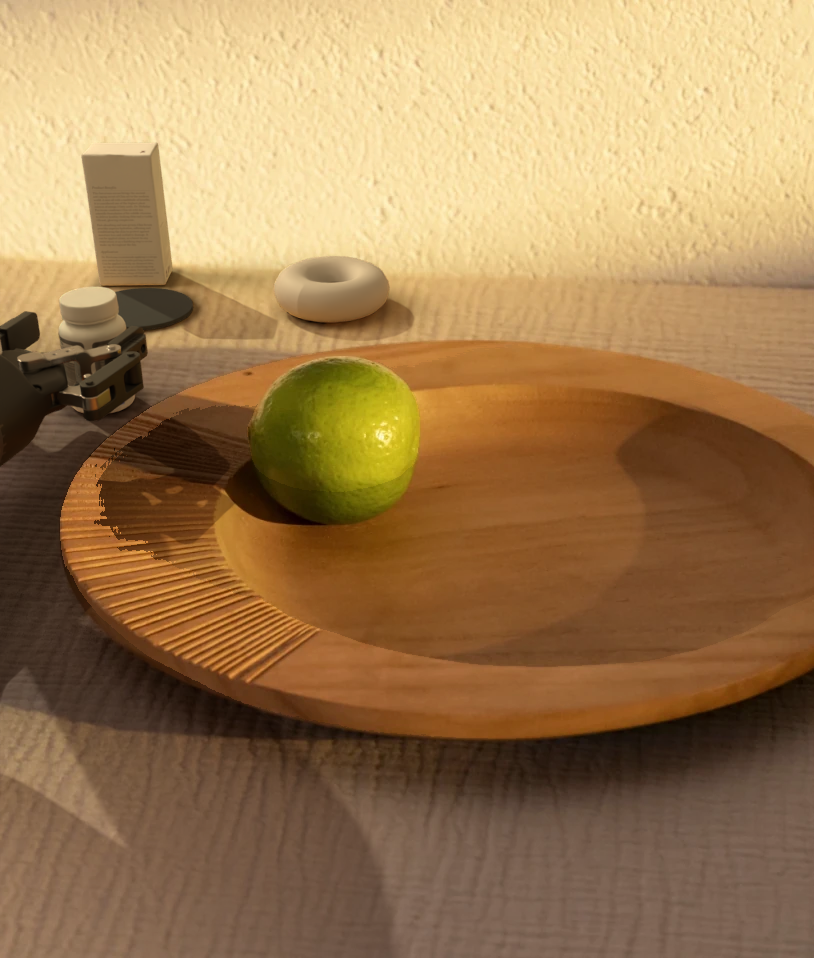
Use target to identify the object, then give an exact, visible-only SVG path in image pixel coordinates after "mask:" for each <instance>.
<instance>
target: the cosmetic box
mask: <svg viewBox="0 0 814 958" xmlns="http://www.w3.org/2000/svg"><path fill="white" fill-rule="evenodd" d="M80 158H81V163H82V164H81V165H82V169H83V175H84V183H85V189H86V190H85V191H86V197H87V203H88V211H89V217H90V225H91V233H92V239H93V245H94V254H95V260H96V267H97V274H98V281H99V284H100V287H106V286H107V287H108V286H109V287H110V286H166V284H167V282H168V281H169V277H171V276H170V275H171V273H172V272H173V268H174V267H173V259H172V258H173V257H172V251H171V242H170V234H169V225H168V216H167V208H166V199H165V190H164V182H163V181H164V180H163V173H162V165H161V157H160V148H159V143H158V142H157V141H152V142H151V141H150V142H91V144H90V145H89V146H88V147H87V148H86V149H85V151H84V152H83V153H82V154H81V155H80Z"/></svg>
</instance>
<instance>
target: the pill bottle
mask: <svg viewBox="0 0 814 958" xmlns="http://www.w3.org/2000/svg"><path fill="white" fill-rule="evenodd" d="M115 292H116V291H115V290H114V289H111V288H109V287H106V286H83V287H78V288H75V289H70V290H68V291H66V292H64V293H63V294H62V295H61V296H60V297H59V299H58V303H59V310H60V316H61V319H62V321H61V322H60V324H59V326H58V338H59V345H60V349H63V348H68V347H72V346H76V345H78V346H81V347H82V348H83V349H84V350H89V349H93V348H97V347H102V346H106V345H107V343H109V342H110V341H111V340H113V339H114V338H116V337H117V336H118V335H120V334H121V333H122V332H124V331H125V330H126V329H127V328H126V324H125V321H124V320H123V318H122V317H121V316H119V315H118V312H119V310H118V309H119V307H118V302H117V296H116V293H115ZM63 364H64V366H65V371H66V376H67V381H68V386H74V385H75V383H76V375H75V368H74V361H71V362H67V363H63ZM104 366H105V363H104V360H102V361H98V362H94V363H93V364H92V365H91V370H92V374H94V373H95V372H96V371H98V370H99V369H101V368H102V367H104ZM135 398H136V394H135V395H133V396H132V397H131V398H129V399H128V400H127V401H125V402H124V403H123V404H121V405H120V406H118V407H117V408H116V409H114V410H113V411H112V412H110V413H109V414H113V413H119V412H120V411H122V410H125V409H127V408H128V407H130V406H131V405H132V404H133V402H134V401H135ZM71 408H72V409H73V410H74V411H76V412H79V413H82V414H84V412H83V408H78V407H73V406H71Z"/></svg>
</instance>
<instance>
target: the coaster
mask: <svg viewBox="0 0 814 958" xmlns="http://www.w3.org/2000/svg"><path fill="white" fill-rule="evenodd" d="M114 292H115V293H116V296H117V302H118V307H119V309H118V310H119V312H118V315H119V316H121V317H122V318H123V320H124V321H125V324H126V328H127V329H128V328H129V327H130V326H136V327H142V328H143V331H144V332H145V331H152V330H157V329H161V328H166V327H170V326H173V325H175V324H178V323H180V322H183V321H184V320H185V319H187V318H189V316H190V315H191V314H192V312H193V310H194V304H193V300H192V299H191V298H190V297H189V296H188V295H187V294H185V293H182V292H181V291H178V290H173V289H169V288H162V287H161V288H160V287H137V288H136V287H135V288H129V289H128V288H127V289H122V290H117V291H114Z"/></svg>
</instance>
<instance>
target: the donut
mask: <svg viewBox="0 0 814 958" xmlns="http://www.w3.org/2000/svg"><path fill="white" fill-rule="evenodd" d="M390 288H391V287H390V282H389V279H388V278H387V276H386V274H385V273H384V271H383V270H382V269H381V268H380V267H379V266H377V265H375V264H374V263H372V262H370V261H367V260H364V259H360V258H358V257H353V256H345V255H324V256H323V255H322V256H316V257H315V256H314V257H309V258H304V259H302V260H299V261H296V262H294V263H291V264H289V265H288V266H286V267H284V268H283V269H282V270H281V271H280V272H279V274H278V276H277V277H276V279H275V282H274V284H273V294H274V297H275V299H276V302H277V304H278V306H279V307H280V308H281V309H282V310H284V311H285V312H287V314H289V315H291V316H293V317H295V318H298V319H302V320H304V321H311V322H315V323H316V322H317V323H334V324H335V323H344V322H346V323H347V322H352V321H357V320H359V319H362V318H365V317H368V316H370V315H372V314H375V313H376V312H377V311H378V310H380V309H381V308H382V307H383V306H384V305H385V303H386V302H387V300H388V297H389V293H390Z"/></svg>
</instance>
